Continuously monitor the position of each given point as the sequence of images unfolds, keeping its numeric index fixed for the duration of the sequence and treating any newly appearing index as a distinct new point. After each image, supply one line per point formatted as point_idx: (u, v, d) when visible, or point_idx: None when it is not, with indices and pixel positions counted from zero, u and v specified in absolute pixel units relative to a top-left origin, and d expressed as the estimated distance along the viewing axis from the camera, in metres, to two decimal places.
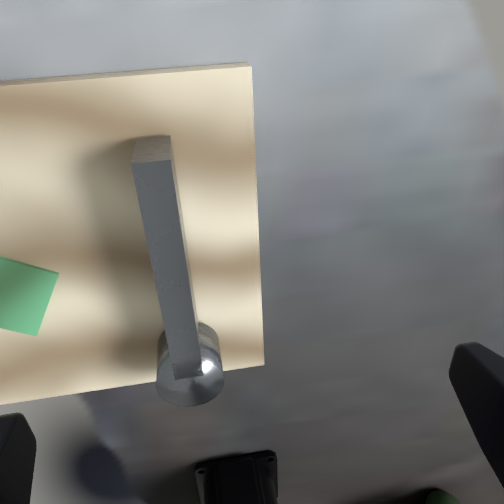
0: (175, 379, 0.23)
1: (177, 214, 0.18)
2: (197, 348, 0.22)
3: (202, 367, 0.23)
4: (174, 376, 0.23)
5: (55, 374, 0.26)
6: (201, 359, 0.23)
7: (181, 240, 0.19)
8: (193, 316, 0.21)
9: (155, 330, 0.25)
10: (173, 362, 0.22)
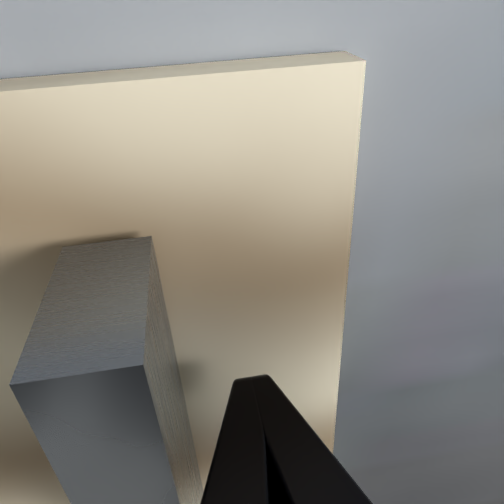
0: None
1: (168, 478, 0.06)
2: None
3: None
4: None
5: None
6: None
7: None
8: None
9: None
10: None
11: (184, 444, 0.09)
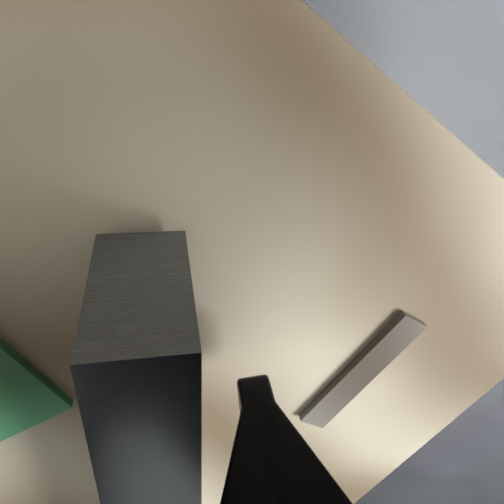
0: None
1: (197, 468, 0.07)
2: None
3: None
4: None
5: None
6: None
7: None
8: None
9: None
10: None
11: None
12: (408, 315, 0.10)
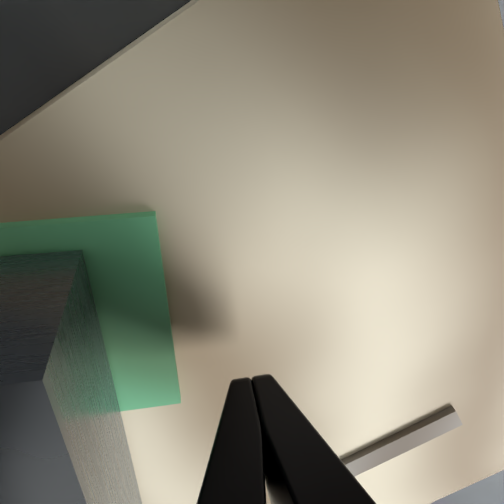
0: None
1: (77, 490, 0.07)
2: None
3: None
4: None
5: None
6: None
7: None
8: None
9: None
10: None
11: (110, 455, 0.09)
12: (455, 411, 0.13)
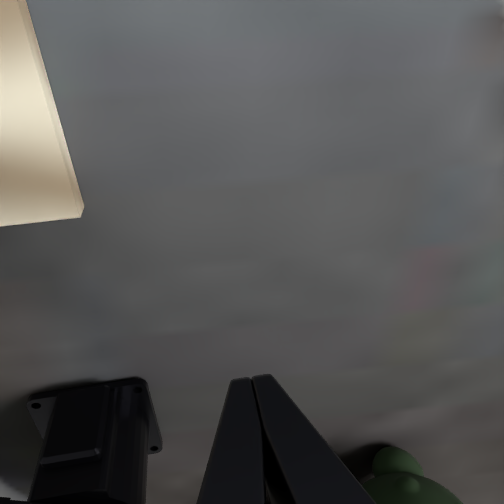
0: None
1: None
2: None
3: None
4: None
5: None
6: None
7: None
8: None
9: None
10: None
11: None
12: None
